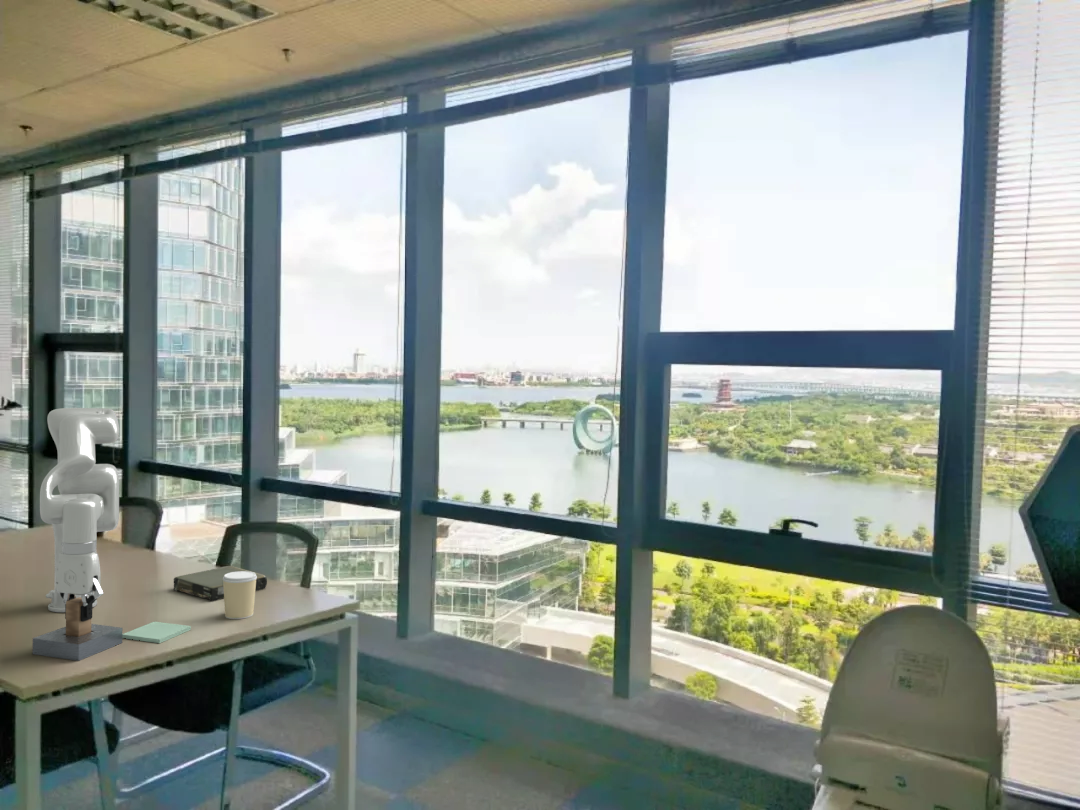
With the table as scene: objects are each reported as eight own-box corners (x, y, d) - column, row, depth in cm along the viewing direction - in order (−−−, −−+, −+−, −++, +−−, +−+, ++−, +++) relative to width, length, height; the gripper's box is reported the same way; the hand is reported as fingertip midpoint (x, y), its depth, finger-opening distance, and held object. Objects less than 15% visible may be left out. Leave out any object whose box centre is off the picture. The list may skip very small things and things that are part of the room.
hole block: (32, 654, 199) (32, 638, 199) (78, 636, 213) (78, 622, 212) (78, 660, 195) (78, 644, 195) (122, 642, 209) (122, 627, 209)
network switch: (165, 593, 258) (165, 577, 258) (224, 578, 278) (225, 563, 278) (216, 604, 247) (216, 588, 247) (273, 588, 268) (274, 573, 267)
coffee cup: (260, 610, 240) (261, 571, 240) (250, 620, 231) (250, 579, 231) (228, 610, 240) (229, 570, 240) (217, 619, 231) (218, 578, 230)
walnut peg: (65, 640, 203) (66, 601, 202) (78, 635, 207) (78, 597, 206) (78, 642, 202) (78, 603, 201) (91, 637, 206) (91, 598, 205)
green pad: (121, 638, 213) (121, 634, 213) (154, 625, 224) (154, 621, 224) (159, 643, 210) (159, 639, 210) (190, 629, 221) (190, 626, 221)
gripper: (40, 547, 202) (39, 619, 203) (94, 554, 198) (94, 627, 198) (65, 541, 209) (64, 611, 210) (118, 547, 205) (117, 618, 206)
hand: (78, 618), depth 204 cm, fingers closed on walnut peg, 4 cm apart
